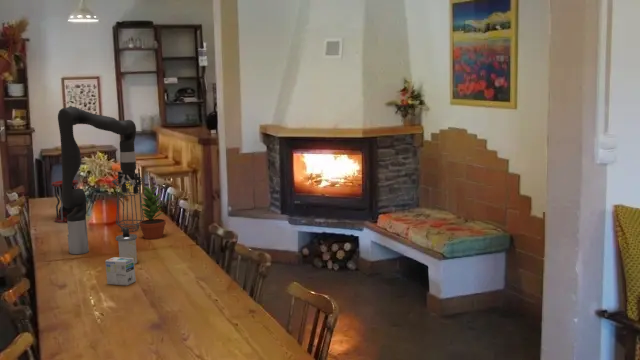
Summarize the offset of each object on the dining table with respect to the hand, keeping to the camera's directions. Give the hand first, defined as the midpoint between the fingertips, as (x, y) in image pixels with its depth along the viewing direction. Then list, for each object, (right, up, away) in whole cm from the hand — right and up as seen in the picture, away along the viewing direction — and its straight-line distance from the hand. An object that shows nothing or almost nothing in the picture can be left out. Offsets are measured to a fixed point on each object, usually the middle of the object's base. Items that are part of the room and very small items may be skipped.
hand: (130, 192), depth 355 cm
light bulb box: (+7, -39, -42) cm, 58 cm away
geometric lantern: (-16, -23, +66) cm, 72 cm away
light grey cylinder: (+2, -34, -9) cm, 35 cm away
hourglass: (-66, -20, +101) cm, 122 cm away
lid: (+1, -22, -10) cm, 24 cm away
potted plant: (+1, -26, +45) cm, 52 cm away
